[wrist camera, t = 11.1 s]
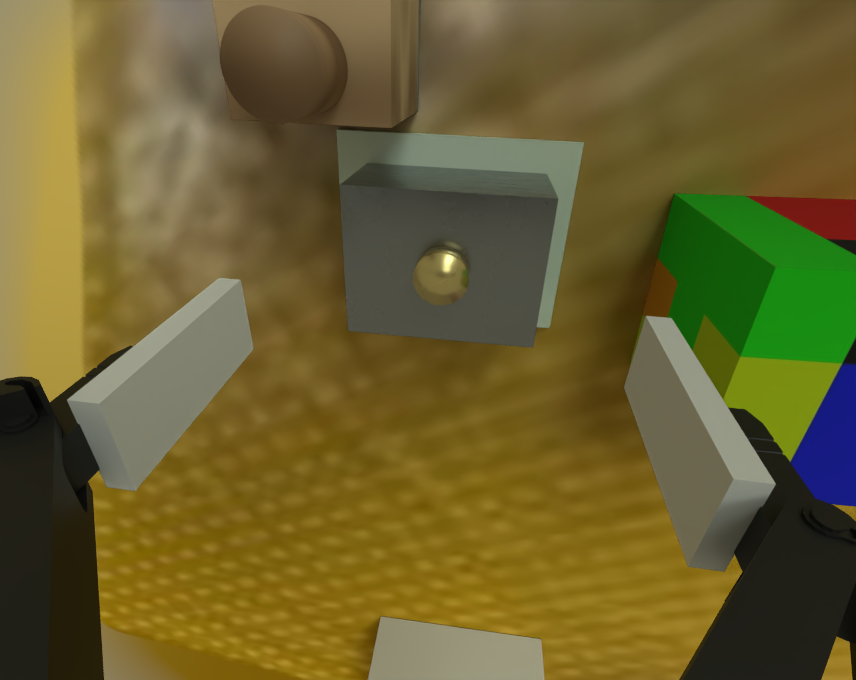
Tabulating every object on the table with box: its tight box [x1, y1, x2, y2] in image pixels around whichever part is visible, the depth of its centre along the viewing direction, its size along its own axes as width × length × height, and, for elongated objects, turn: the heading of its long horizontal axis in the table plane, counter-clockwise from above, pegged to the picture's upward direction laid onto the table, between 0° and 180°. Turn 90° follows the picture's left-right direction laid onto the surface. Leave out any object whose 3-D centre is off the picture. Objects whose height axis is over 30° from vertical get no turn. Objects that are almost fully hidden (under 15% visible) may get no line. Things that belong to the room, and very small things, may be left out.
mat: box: [336, 129, 584, 328], centre depth 26 cm, size 12×10×1 cm
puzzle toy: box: [630, 194, 856, 506], centre depth 21 cm, size 10×10×10 cm
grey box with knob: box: [340, 163, 558, 348], centre depth 23 cm, size 9×7×6 cm
